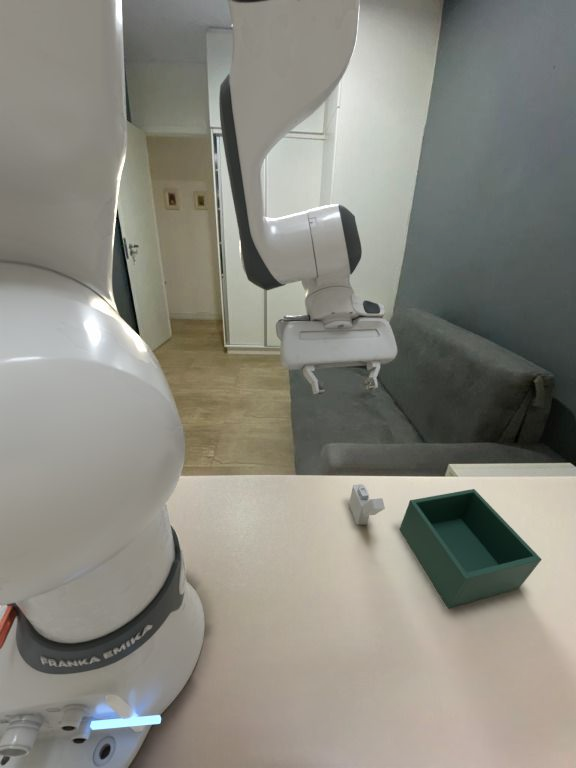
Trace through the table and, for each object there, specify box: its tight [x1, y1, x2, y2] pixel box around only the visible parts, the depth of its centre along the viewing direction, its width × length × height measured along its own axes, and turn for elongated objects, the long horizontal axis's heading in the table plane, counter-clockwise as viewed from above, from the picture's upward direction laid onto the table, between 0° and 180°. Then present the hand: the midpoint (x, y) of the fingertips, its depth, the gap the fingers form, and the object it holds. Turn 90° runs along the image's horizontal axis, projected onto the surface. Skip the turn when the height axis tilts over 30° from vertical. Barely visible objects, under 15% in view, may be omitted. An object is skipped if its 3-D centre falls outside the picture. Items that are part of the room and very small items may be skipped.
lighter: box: [348, 483, 386, 526], centre depth 46 cm, size 7×2×8 cm, turn 8°
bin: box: [399, 488, 543, 609], centre depth 43 cm, size 11×11×6 cm
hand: (346, 391), depth 51 cm, fingers open, 8 cm apart
